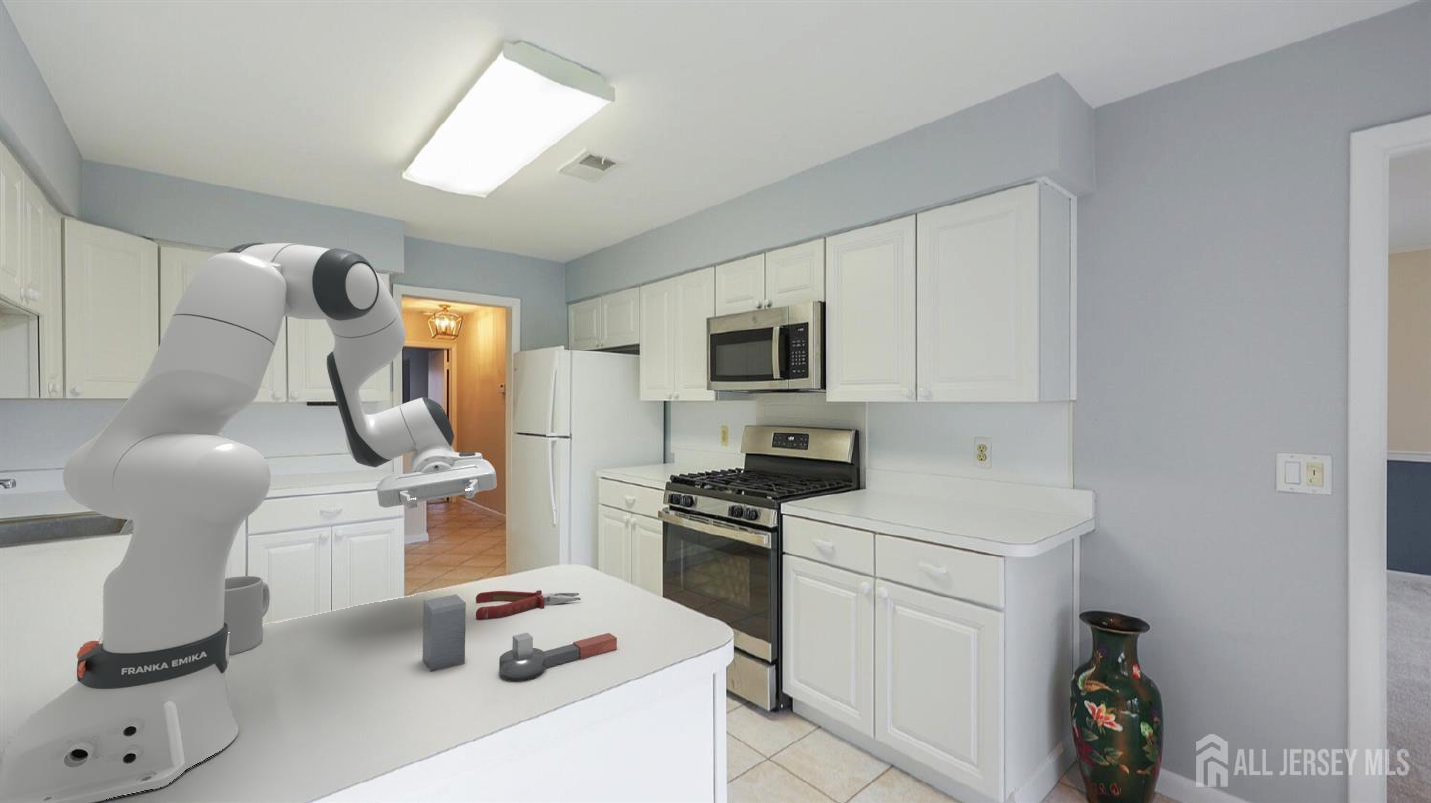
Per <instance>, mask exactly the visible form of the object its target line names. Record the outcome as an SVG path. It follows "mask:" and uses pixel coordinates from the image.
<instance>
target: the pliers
mask: <svg viewBox="0 0 1431 803" xmlns="http://www.w3.org/2000/svg"><path fill="white" fill-rule="evenodd" d="M579 595H580V593H578V592H553V593H551V592H550V593H544V594H542V590H541V589H537V590H536V591H534V592H530V591H529V592H528V591H513V590H512V591H511V590H495V591H494V590H493V591H485V592H479V593H477V594H476V596H475V603H476V604H483V603H484V604H485V603H491V602H492V603H493V602H496V603H497V602H504V604H500V605H491V606H490V605H489V606H481V607H479V608H477V609H476V612H475V618H476V620H481V621H482V620H492V619H500V618H501V619H502V618H506V617H509V616H512V615H513V616H514V615H517V614H520V613H524V612H526V611H529V610H530V611H531V610H533V609H534V610H535V609H536V608H538V609H540V610H543V609H545V606H550V605H551V606H552V605H558V604H565V603H570V602H575V601H581V597H576V596H579ZM505 602H509V603H506V604H505Z"/></svg>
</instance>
